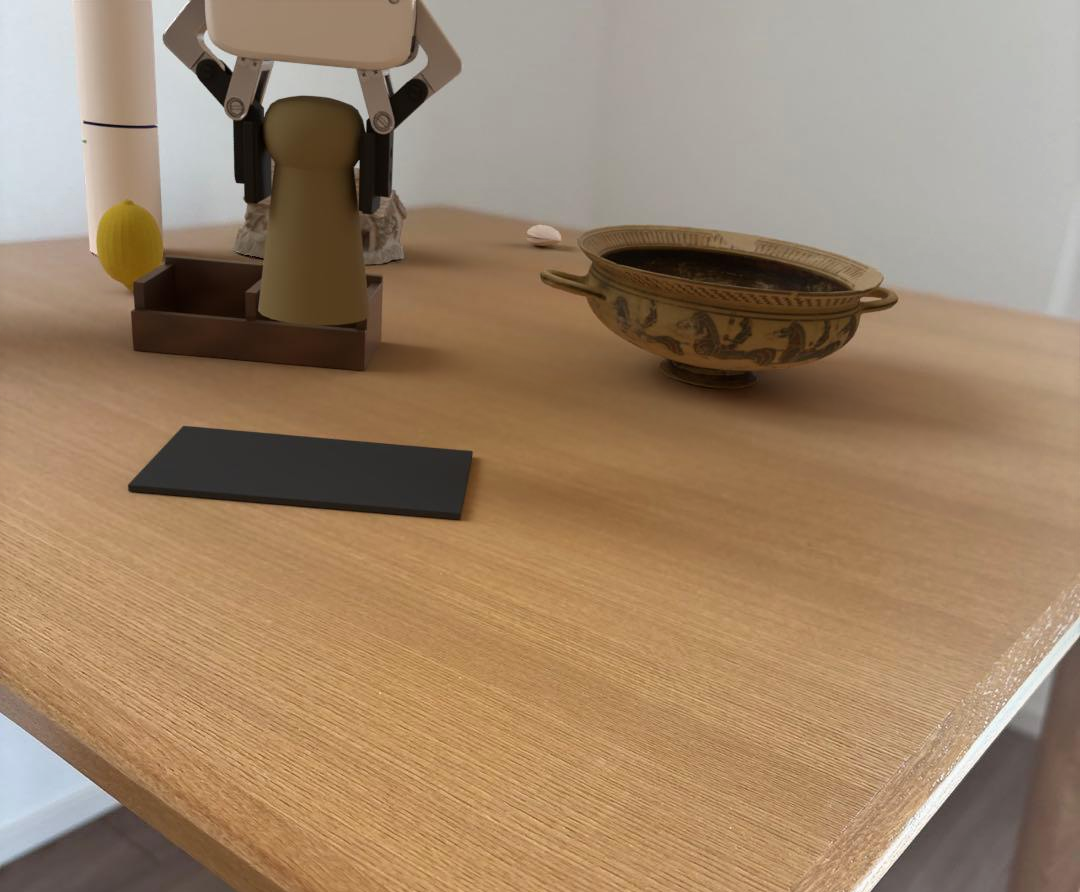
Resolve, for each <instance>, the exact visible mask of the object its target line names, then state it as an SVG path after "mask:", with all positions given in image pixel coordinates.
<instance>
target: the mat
mask: <svg viewBox="0 0 1080 892" xmlns="http://www.w3.org/2000/svg"><path fill="white" fill-rule="evenodd" d="M473 453H474V451H473V450H467V449H466V450H465V449H453V448H441V447H432V446H418V445H408V444H395V443H386V442H385V443H384V442H374V441H364V440H363V441H361V440H350V439H340V438H327V437H317V436H306V435H294V434H284V433H282V434H281V433H270V432H262V431H261V432H260V431H250V430H248V431H247V430H237V429H236V430H235V429H228V428H227V429H225V428H215V427H204V426H203V427H202V426H190V425H183V426H181V427H180V429H179V430H178V431H176V432H175V434H174V435H173V436H172V437H171V438H170V439H169V440H168V441H167V442H166V444H164V446H163V447H162V448H161V449H160V450H159V451H158V452H157V453H156V454H155V456H153V457H152V458H151V460H149V462H148V463H147V464H146V465H145V466H143V468H142V469H141V470H140V471H139V472H138V473H137V475H136V476H135V477H134V478H133V479H132V480H131V481H130V482H129V483H128V484H127V491H128V492H133V493H145V494H158V495H170V496H179V497H180V496H181V497H192V498H194V497H195V498H201V499H203V498H205V499H213V500H214V499H215V500H226V501H239V502H250V503H262V504H271V505H273V504H274V505H275V504H276V505H284V506H297V507H306V508H307V507H309V508H319V509H331V510H343V511H353V512H354V511H355V512H366V513H378V514H390V515H401V516H412V517H424V518H435V519H436V518H437V519H448V520H461V517H462V513H463V508H464V503H465V497H466V492H467V487H468V481H469V476H470V471H471V466H472V461H473Z"/></svg>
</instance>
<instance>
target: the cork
mask: <svg viewBox="0 0 1080 892" xmlns="http://www.w3.org/2000/svg"><path fill="white" fill-rule="evenodd" d="M365 132H366V126H365V123H364V119H363V116H362V115H361V113H360V111H359V110H358V109H357V108H356V107H355V106H354V105H353V104H350V103H347V102H344V101H342V100H339V99H335V98H331V97H327V96H319V95H292V96H287V97H282V98H278V99H276V100H275V101H273V102H271V103H270V104H269V106H268V108H267V109H266V111H265V112H264V121H263V139H264V143H265V147H266V150H267V152H268V153H269V155H270V156H271V158H272V159H273V161H274V162H275V165H274V174H273V183H272V191H271V200H270V209H269V218H268V227H267V236H266V245H265V254H264V258H263V263H262V264H263V271H262V280H261V289H260V298H259V307H258V311H259V312H260V313H261V314H262V315H263V316H266V317H268V318H270V319H274V320H278V321H282V322H287V323H295V324H303V325H341V324H349V323H355V322H359V321H363V320H365V319H366V318H368V317H370V308H369V299H368V290H367V281H366V273H367V272H366V264H365V263H364V254H363V245H362V236H361V227H360V218H359V209H358V200H357V191H356V182H355V173H354V167H355V168H356V166H357V164H359V158H360V136H361V134H363V133H365Z"/></svg>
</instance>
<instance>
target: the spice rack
mask: <svg viewBox="0 0 1080 892" xmlns="http://www.w3.org/2000/svg"><path fill="white" fill-rule="evenodd" d="M262 271H263V263H262V262H261V263H260V262H250V261H240V260H239V261H238V260H227V259H217V258H216V259H215V258H206V257H196V256H195V257H194V256H184V255H173V254H167V255H165V256H164V263H163V264H161V266H159V267H158V268H156V269H154V270H153V271H151V272H149V273H147V274H146V275H144V276H142V277H141V278H139V279H137V280H136V281H134V282H133V290H134V291H133V304H134V305H133V306H134V308H133V309H132V310H130V318H131V321H130V322H131V335H132V350H133V351H137V352H147V353H159V354H171V355H181V356H193V357H204V358H216V359H227V360H237V361H238V360H239V361H250V362H259V363H272V364H282V365H283V364H284V365H294V366H305V367H314V368H315V367H316V368H326V369H327V368H328V369H339V370H350V371H361V372H365V370H366V368H367V367H368V365H369V363H370V361H371V359H372V358H373V356H374V354H375V352H376V350H377V348H378V347H379V345H380V343H381V341H382V324H383V323H382V322H383V292H384V291H383V289H384V274H381V273H370V272H366V281H367V290H368V299H369V308H370V317H368V318H366V319H365V320H363V321H359V322H355V323H349V324H341V325H303V324H295V323H287V322H282V321H278V320H274V319H270V318H268V317H266V316H263V315H262V314H261V313H260V312H259V311H258V307H259V298H260V289H261V280H262Z"/></svg>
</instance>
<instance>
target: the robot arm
mask: <svg viewBox="0 0 1080 892" xmlns="http://www.w3.org/2000/svg"><path fill="white" fill-rule="evenodd" d="M206 32H207V35H208V38H209V40H210V42H211V43H212V44H213V45H214V46H215V47H216V48H218V49H219V50H221V51H222V52H225V53H227V54H229V55H231V56H235V57H236V59H235V63H234V66H233V70H232V69H231V68H230V67H229V66H228V65H227V64H226V63H225V62H224V61H223V60H222V59H220V58H218V57H217V55H216V54H215V53H213V52H212V50H211V49H210V48H209V46H207V44H206V43H205V40H204V38H205V33H206ZM162 42H163V45H164V46H165V47H166V48H167V49H168V50H169V51H170V52H171V53H172V54H173V55H174V56H175V57H176V58H177V59H178V60H179V61H180V62H181V63H182V64H183V65H184V66H185V67H186V68H188V70H189V71H191V72H192V73H194V75H195V76H196V77H197V79H198V80H199V82H200V83H201V84H202V85H203V86H204V87H205V89H206V90H207V91H208V92H209V93H210V95H212V96H213V97H214V99H215V100H216V101H217V102H218V103H219V105H221V106H222V108H223V110H224V113H225V115H226V116H227V117H228V118H229V119H230V120H232V126H233V127H232V135H233V136H232V138H233V139H232V140H233V141H232V142H233V177H234V181H235V184H239V185H240V184H241V185H243V197H244V199H245V201H244V203H245V204H247V203H251V204H257V203H259V202H260V201H262V200H264V199H266V198H267V197H269V196H271V191H272V170H271V156H270V155H269V153H268V152H267V150H266V147H265V143H264V139H263V121H264V116H265V107H264V106H263V102H264V98H265V95H266V91H267V89H268V84H269V81H270V77H271V74H272V71H273V68H274V65H275V62H281V63H290V64H301V65H312V66H323V67H331V68H332V67H333V68H342V69H354V70H355V71H356V74H357V77H358V81H359V85H360V88H361V91H362V96H363V100H364V104H365V108H366V111H367V115H368V118H367V119H366V121H365V124H366V125H365V133H363V134H361V136H360V158H359V161H358V164H359V165H358V168H359V211H362V213H363V214H370V215H373V214H374V213H375V212H376V211H377V210H378V209H379V208H380V200H381V197H390V196H391V191H392V189H393V171H394V168H393V167H394V141H395V140H394V139H395V138H394V137H395V136H394V135H395V130H396V129H397V128H398V127H399V126H401V125H402V124H403V123H404V122H405V121H406V120H407V119H408V118H409V117H410V116H411V115H412V114H413V113H415V111H416V110H418V109H419V108H420V107H421V106H422V105H423V104H424V103H425V102H426V101H428V99H430V98H432V97H433V95H435V94H436V93H438V92H439V91H440V90H441V89H443V88H444V87H445V86H446V85H448V84H449V83H450V82H452V81H453V80H454V79H455V78H457V77H458V76H460V74H462V72H463V70H464V62H463V59H462V57H461V56H460V55H459V53H458V52H457V50H456V49H455V47H454V45H453V44H452V42H451V41H450V40H449V38H448V37H447V35H446V34H445V32H444V31H443V29H442V28H441V26H440V25H439V23H438V22H437V20H436V19H435V17H434V16H433V14H432V13H431V11H430V9H429V8H428V7H427V5H426V4H425V2H424V1H423V0H188V1H187V3H185V4H184V6H183V7H182V9H181V10H180V11H179V12H178V14H177V15H176V16H175V17H174V19H173V20H172V21H171V22H170V24H169V25H168V27H166V29H165V30H164V31H163V33H162ZM420 47H421V49H422V50H423V52H425V54H426V55H425V56H426V58H427V62H426V66H425V67H424V68H423V69H422V70H421V71H419V72H418V73H416V75H414V76H413V77H412V78H410V79H409V80H408V81H406V82H405V83H404V84H403V85H402V86H401V87H400V88H399V89H398V90H397V91H395V87H394V83H393V80H392V75H391V72H390V69H395V68H399V67H403V66H406V65H408V64H410V63H412V62H413V61H414V60H415V59H416V58H417V56H418V54H419V50H420Z"/></svg>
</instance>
